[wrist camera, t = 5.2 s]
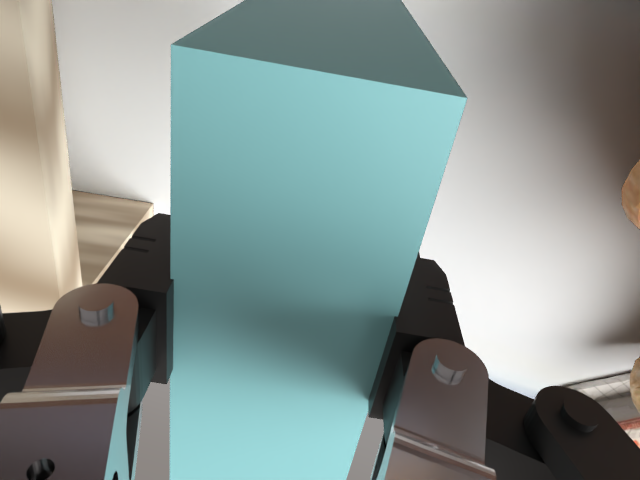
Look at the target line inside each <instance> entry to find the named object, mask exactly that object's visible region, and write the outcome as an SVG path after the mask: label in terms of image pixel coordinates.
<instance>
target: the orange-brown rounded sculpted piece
mask: <svg viewBox="0 0 640 480" xmlns="http://www.w3.org/2000/svg"><path fill="white" fill-rule="evenodd" d="M622 206H623V209H624V211H625V214H626V216H627V218H628V219H629V220H630V221H631V222H632V223H633V224H634V225H635V226H636V227H637V228H638V229H640V160H639V161H638V162H637V163H636V165H635V166H634V167H633V168H632V169H631V171H630V173H629V175H628V177H627V179H626V181H625V182H624V184H623V187H622ZM630 392H631V397H632V401H633V403H634V405H635V407H636V408H637V410H638V412H639V413H640V357H639V358H638V359H637V360H636V361H635V363H634V366H633V369H632V371H631V374H630Z"/></svg>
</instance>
